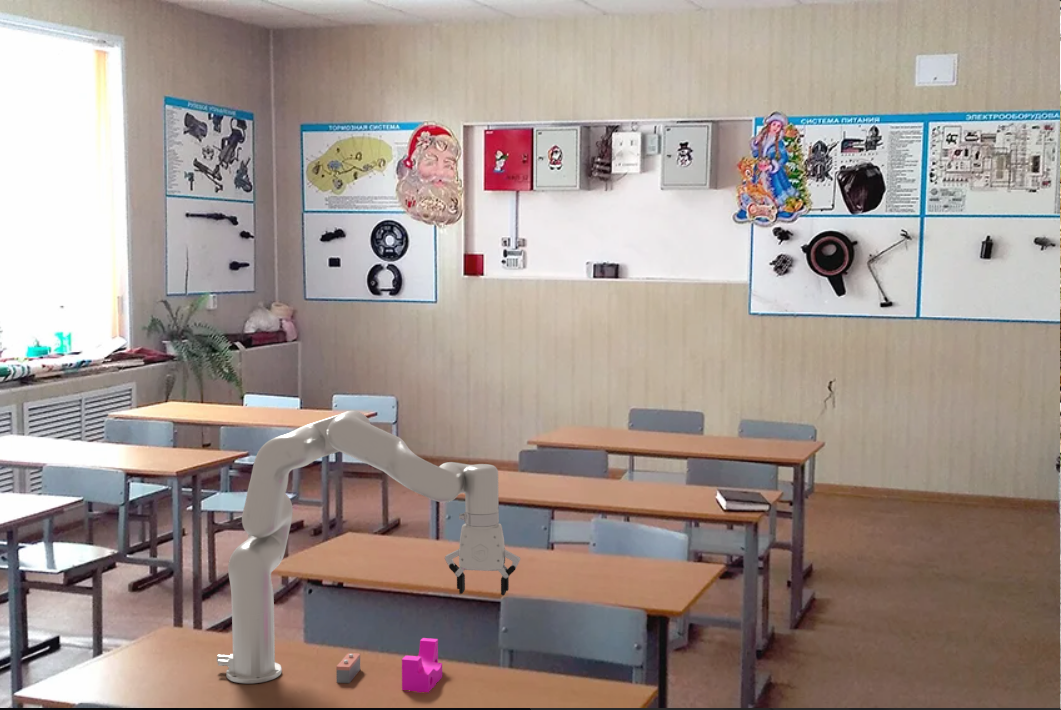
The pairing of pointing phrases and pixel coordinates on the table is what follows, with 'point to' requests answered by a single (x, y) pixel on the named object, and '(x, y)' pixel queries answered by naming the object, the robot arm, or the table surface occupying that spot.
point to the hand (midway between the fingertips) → (482, 592)
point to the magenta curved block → (422, 667)
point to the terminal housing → (348, 668)
